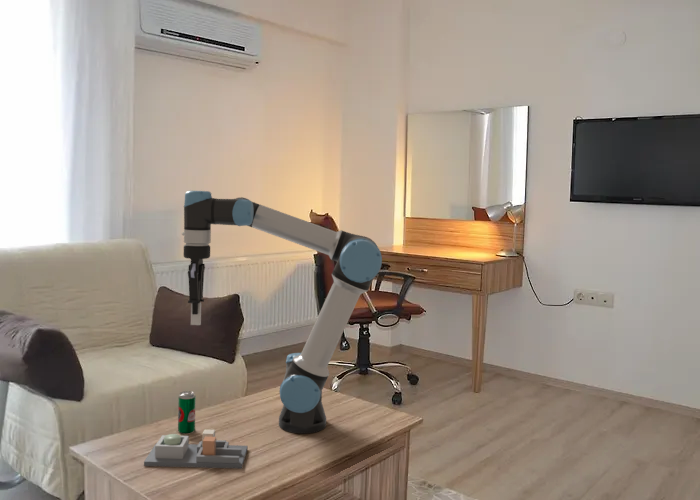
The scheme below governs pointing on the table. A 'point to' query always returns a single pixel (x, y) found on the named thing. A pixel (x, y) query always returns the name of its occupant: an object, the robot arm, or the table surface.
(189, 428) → the soda can
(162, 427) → the table surface
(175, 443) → the button
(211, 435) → the knob cream
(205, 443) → the knob terracotta
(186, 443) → the panel
